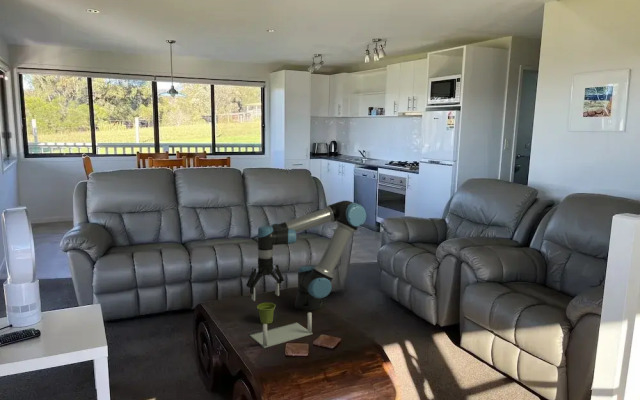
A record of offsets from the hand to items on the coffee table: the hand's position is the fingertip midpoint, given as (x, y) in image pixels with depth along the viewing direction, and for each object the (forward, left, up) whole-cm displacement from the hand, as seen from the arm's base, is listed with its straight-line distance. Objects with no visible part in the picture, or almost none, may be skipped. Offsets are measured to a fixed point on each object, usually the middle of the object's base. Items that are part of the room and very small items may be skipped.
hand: (265, 297), depth 232 cm
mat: (+1, +18, -13) cm, 22 cm away
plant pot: (0, 0, -14) cm, 14 cm away
